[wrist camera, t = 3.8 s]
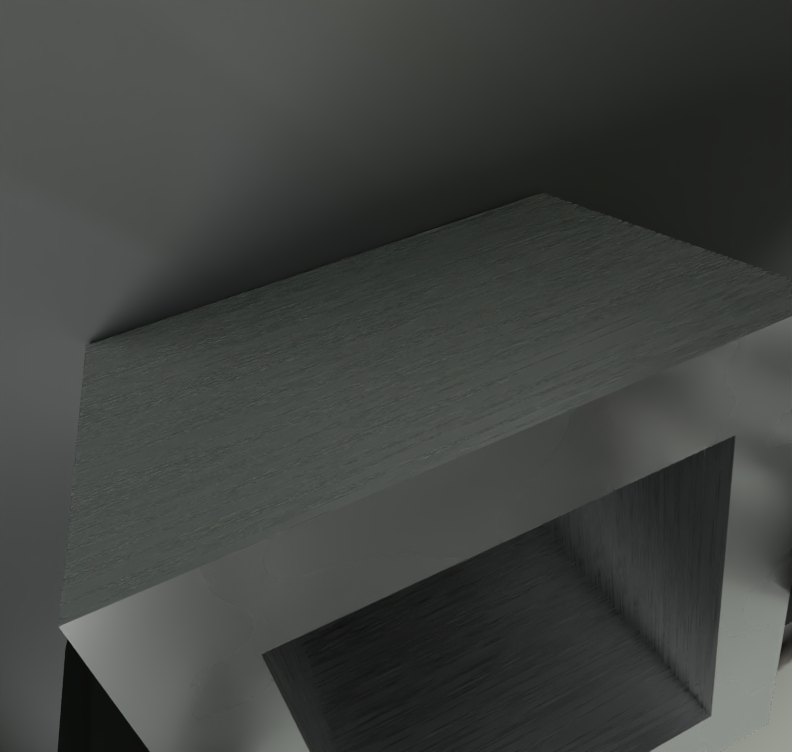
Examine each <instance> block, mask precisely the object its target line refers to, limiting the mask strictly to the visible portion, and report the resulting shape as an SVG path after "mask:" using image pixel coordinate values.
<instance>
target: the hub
mask: <svg viewBox="0 0 792 752" xmlns="http://www.w3.org/2000/svg"><path fill="white" fill-rule="evenodd" d="M791 584H792V279H789V278H786V277H784V276H781V275H778V274H775V273H772V272H769V271H766V270H763V269H761V268H758V267H755V266H752V265H749V264H746V263H743V262H740V261H738V260H735V259H732V258H729V257H726V256H723V255H720V254H717V253H715V252H712V251H709V250H706V249H703V248H700V247H697V246H694V245H691V244H689V243H686V242H683V241H680V240H677V239H674V238H671V237H668V236H666V235H663V234H660V233H657V232H654V231H651V230H648V229H645V228H643V227H640V226H637V225H634V224H631V223H628V222H625V221H622V220H620V219H617V218H614V217H611V216H608V215H605V214H602V213H599V212H597V211H594V210H591V209H588V208H585V207H582V206H579V205H576V204H574V203H571V202H568V201H565V200H562V199H559V198H556V197H553V196H551V195H548V194H545V193H539V194H536V195H533V196H530V197H527V198H524V199H521V200H518V201H515V202H512V203H509V204H506V205H503V206H500V207H497V208H494V209H491V210H488V211H485V212H482V213H479V214H477V215H474V216H471V217H468V218H465V219H462V220H459V221H456V222H453V223H450V224H447V225H444V226H441V227H438V228H435V229H432V230H429V231H426V232H423V233H420V234H417V235H414V236H411V237H408V238H405V239H402V240H399V241H396V242H393V243H390V244H387V245H384V246H381V247H378V248H375V249H372V250H369V251H366V252H363V253H360V254H357V255H354V256H351V257H348V258H345V259H342V260H339V261H336V262H333V263H330V264H327V265H324V266H321V267H318V268H315V269H312V270H309V271H306V272H303V273H301V274H298V275H295V276H292V277H289V278H286V279H283V280H280V281H277V282H274V283H271V284H268V285H265V286H262V287H259V288H256V289H253V290H250V291H247V292H244V293H241V294H238V295H235V296H232V297H229V298H226V299H223V300H220V301H217V302H214V303H211V304H208V305H205V306H202V307H199V308H196V309H193V310H190V311H187V312H184V313H181V314H178V315H175V316H172V317H169V318H166V319H163V320H160V321H157V322H154V323H151V324H148V325H145V326H142V327H139V328H136V329H133V330H130V331H127V332H125V333H122V334H119V335H116V336H113V337H110V338H107V339H104V340H101V341H98V342H95V343H92V344H89V345H86V349H85V359H84V370H83V380H82V390H81V400H80V411H79V421H78V431H77V442H76V452H75V462H74V473H73V483H72V493H71V504H70V514H69V524H68V534H67V545H66V555H65V565H64V576H63V586H62V596H61V607H60V617H59V628H60V629H61V631H62V632H63V633H64V635H65V636H66V637H67V639H68V640H69V642H70V643H71V644H72V646H73V647H74V648H75V650H76V651H77V653H78V654H79V655H80V657H81V658H82V659H83V661H84V662H85V663H86V665H87V666H88V668H89V669H90V670H91V672H92V673H93V674H94V676H95V677H96V679H97V680H98V681H99V683H100V684H101V685H102V687H103V688H104V689H105V691H106V692H107V694H108V695H109V696H110V698H111V699H112V700H113V702H114V703H115V705H116V706H117V707H118V709H119V710H120V711H121V713H122V714H123V715H124V717H125V718H126V720H127V721H128V722H129V724H130V725H131V726H132V728H133V729H134V731H135V732H136V733H137V735H138V736H139V737H140V739H141V740H142V741H143V743H144V744H145V746H146V747H147V748H148V750H149V751H150V752H721V751H723V750H725V749H726V748H728V747H730V746H732V745H733V744H735V743H737V742H738V741H740V740H742V739H743V738H745V737H747V736H748V735H750V734H752V733H754V732H755V731H757V730H759V729H760V728H762V727H764V726H765V725H767V724H768V722H769V716H770V710H771V703H772V698H773V691H774V686H775V680H776V674H777V668H778V662H779V656H780V650H781V644H782V638H783V632H784V626H785V620H786V614H787V608H788V602H789V596H790V590H791Z"/></svg>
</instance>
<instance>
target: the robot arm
mask: <svg viewBox="0 0 792 752" xmlns="http://www.w3.org/2000/svg"><path fill="white" fill-rule="evenodd" d="M790 622H792V584H791V590H790V596H789V602H788V608H787V614H786V620H785V625H787V624H789V623H790ZM58 752H150V751H149V750H148V748H147V747H146V746H145V744H144V743H143V741H142V740H141V739H140V737H139V736H138V735H137V733H136V732H135V731H134V729H133V728H132V726H131V725H130V724H129V722H128V721H127V720H126V718H125V717H124V715H123V714H122V713H121V711H120V710H119V709H118V707H117V706H116V705H115V703H114V702H113V700H112V699H111V698H110V696H109V695H108V694H107V692H106V691H105V689H104V688H103V687H102V685H101V684H100V683H99V681H98V680H97V679H96V677H95V676H94V674H93V673H92V672H91V670H90V669H89V668H88V666H87V665H86V663H85V662H84V661H83V659H82V658H81V657H80V655H79V654H78V653H77V651H76V650H75V648H74V647H73V646H72V644H71V643H70V642H69V640H67V644H66V650H65V662H64V675H63V688H62V702H61V715H60V728H59V741H58Z"/></svg>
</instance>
